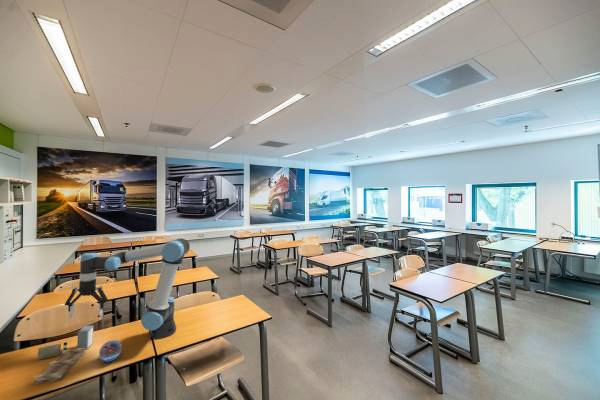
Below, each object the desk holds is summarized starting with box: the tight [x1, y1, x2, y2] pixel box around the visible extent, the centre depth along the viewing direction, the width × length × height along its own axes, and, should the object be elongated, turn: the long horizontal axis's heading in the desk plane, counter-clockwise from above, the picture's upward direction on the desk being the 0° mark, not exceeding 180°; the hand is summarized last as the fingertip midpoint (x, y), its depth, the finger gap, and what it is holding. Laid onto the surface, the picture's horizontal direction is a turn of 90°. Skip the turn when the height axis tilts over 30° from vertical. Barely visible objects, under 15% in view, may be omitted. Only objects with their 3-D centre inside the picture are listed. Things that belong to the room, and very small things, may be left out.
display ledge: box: [33, 348, 86, 385], centre depth 127 cm, size 10×22×3 cm, turn 18°
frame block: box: [76, 325, 94, 351], centre depth 145 cm, size 5×7×11 cm
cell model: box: [98, 339, 123, 363], centre depth 134 cm, size 10×12×10 cm
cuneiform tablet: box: [37, 341, 68, 361], centre depth 136 cm, size 7×4×12 cm
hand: (86, 315), depth 145 cm, fingers open, 13 cm apart
